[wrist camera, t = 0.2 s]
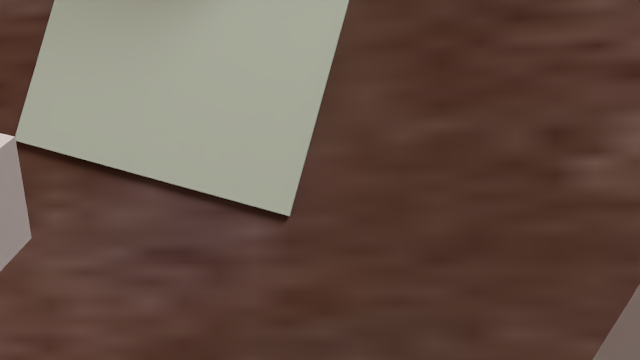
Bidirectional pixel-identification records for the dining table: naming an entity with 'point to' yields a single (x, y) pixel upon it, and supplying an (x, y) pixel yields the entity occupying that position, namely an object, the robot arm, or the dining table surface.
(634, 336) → the robot arm
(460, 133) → the dining table surface
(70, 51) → the mat
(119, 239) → the dining table surface
